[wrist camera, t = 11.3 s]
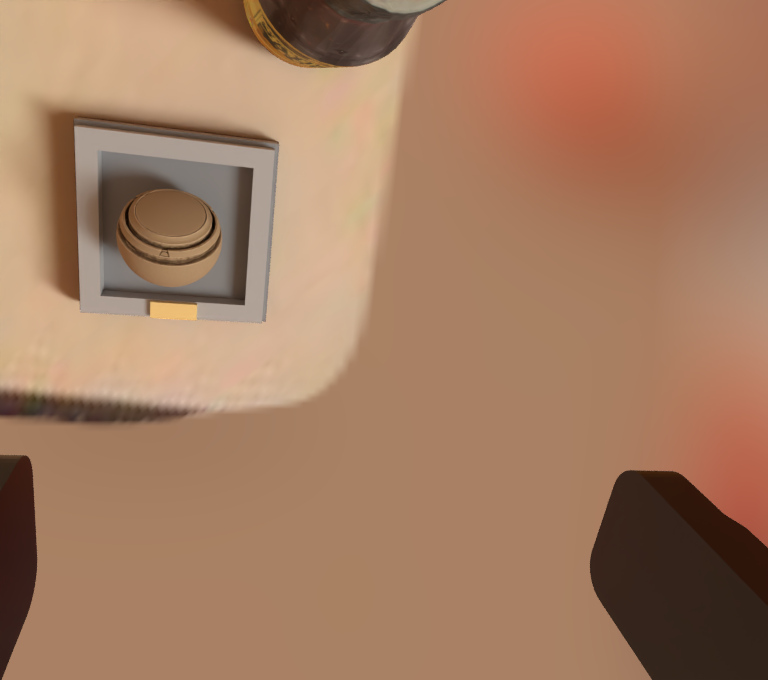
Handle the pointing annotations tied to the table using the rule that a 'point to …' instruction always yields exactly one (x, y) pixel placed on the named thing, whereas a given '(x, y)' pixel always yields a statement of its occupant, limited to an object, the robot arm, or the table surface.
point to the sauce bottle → (333, 29)
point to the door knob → (169, 237)
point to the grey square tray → (185, 173)
